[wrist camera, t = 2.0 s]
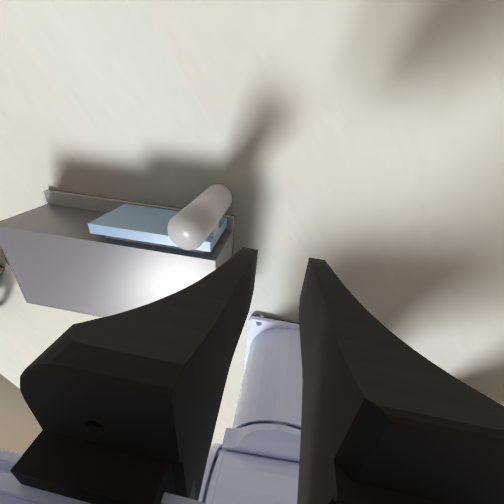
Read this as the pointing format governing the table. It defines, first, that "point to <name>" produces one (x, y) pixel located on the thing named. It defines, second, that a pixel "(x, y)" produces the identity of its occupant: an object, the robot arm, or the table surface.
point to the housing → (97, 258)
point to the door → (170, 222)
